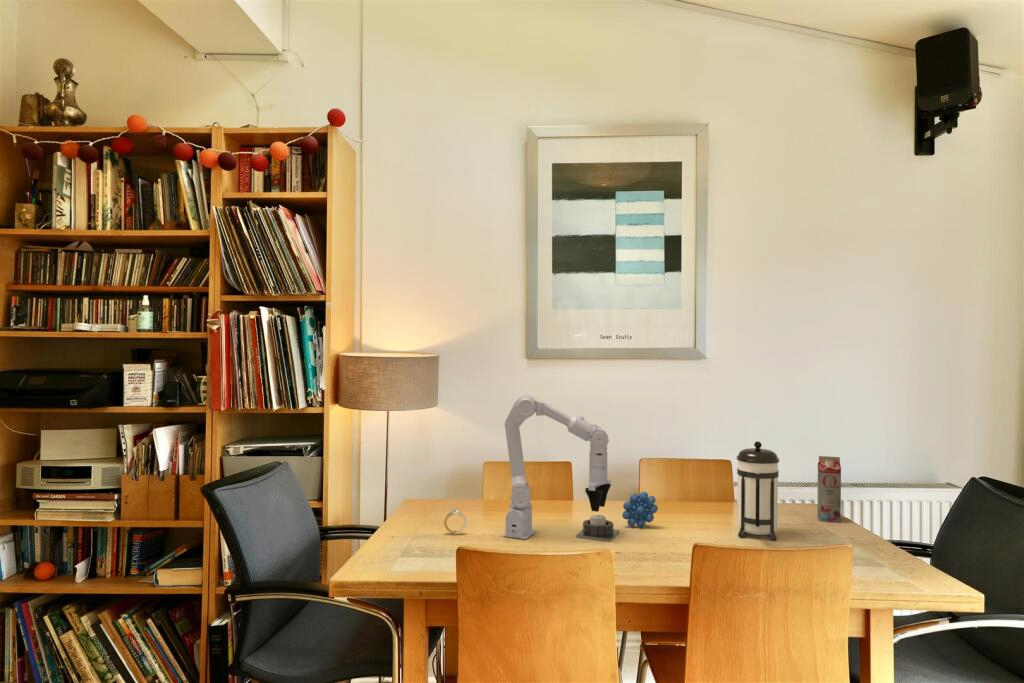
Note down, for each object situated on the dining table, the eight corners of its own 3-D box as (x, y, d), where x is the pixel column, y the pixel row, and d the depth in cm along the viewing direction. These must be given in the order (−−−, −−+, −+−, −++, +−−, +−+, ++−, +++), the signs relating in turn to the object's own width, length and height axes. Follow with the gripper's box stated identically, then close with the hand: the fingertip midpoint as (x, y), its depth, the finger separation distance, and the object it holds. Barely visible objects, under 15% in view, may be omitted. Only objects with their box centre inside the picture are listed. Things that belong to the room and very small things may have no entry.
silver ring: (443, 535, 216) (443, 510, 216) (445, 532, 219) (445, 507, 219) (465, 535, 215) (465, 510, 215) (466, 533, 219) (466, 508, 219)
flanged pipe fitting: (610, 541, 210) (610, 529, 210) (576, 537, 214) (576, 525, 214) (619, 532, 220) (619, 520, 220) (586, 528, 224) (586, 517, 224)
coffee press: (720, 531, 222) (720, 439, 222) (759, 526, 227) (760, 437, 227) (757, 546, 205) (757, 447, 205) (798, 541, 211) (799, 444, 211)
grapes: (657, 524, 229) (657, 489, 229) (658, 530, 222) (658, 493, 222) (622, 523, 231) (622, 487, 231) (622, 528, 224) (622, 492, 224)
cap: (604, 535, 214) (603, 519, 214) (588, 533, 216) (588, 518, 216) (607, 530, 219) (607, 515, 219) (592, 529, 220) (591, 514, 220)
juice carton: (840, 523, 232) (841, 458, 232) (819, 521, 234) (819, 457, 234) (838, 518, 238) (838, 455, 238) (817, 516, 241) (817, 454, 240)
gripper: (604, 471, 209) (604, 515, 209) (616, 463, 222) (616, 504, 222) (582, 469, 211) (582, 512, 212) (595, 461, 225) (595, 502, 225)
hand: (598, 508), depth 217 cm, fingers open, 6 cm apart
